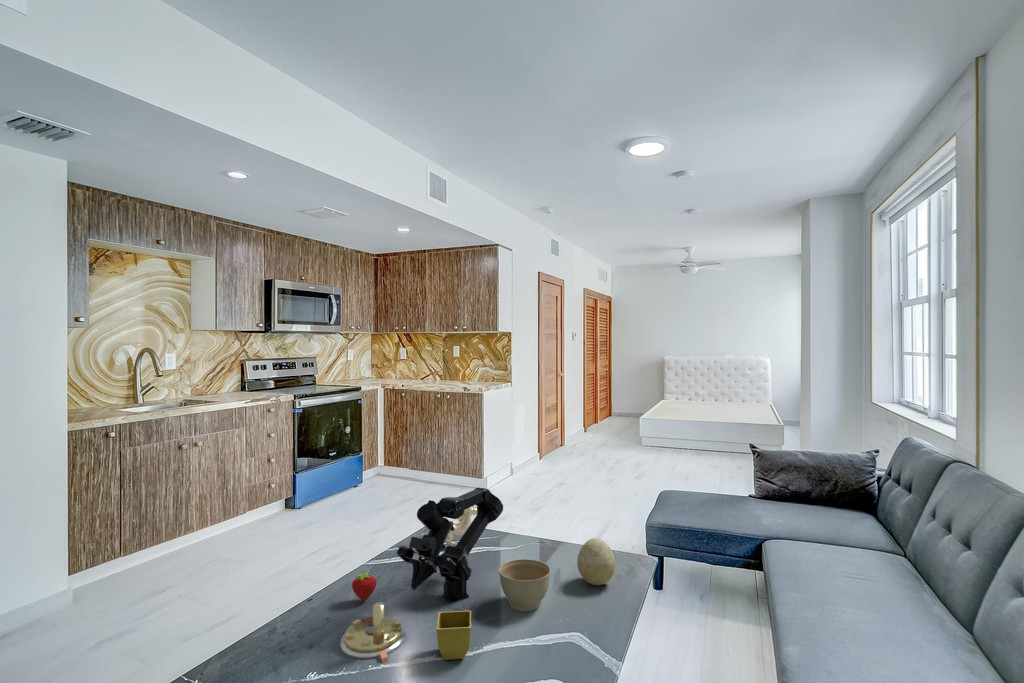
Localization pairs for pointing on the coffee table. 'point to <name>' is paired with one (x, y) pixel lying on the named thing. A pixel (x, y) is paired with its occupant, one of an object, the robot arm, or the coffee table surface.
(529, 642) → the coffee table surface
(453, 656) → the flower pot
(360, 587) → the strawberry
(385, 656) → the tab
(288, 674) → the coffee table surface
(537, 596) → the planter bowl
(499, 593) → the coffee table surface
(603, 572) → the fossilized egg
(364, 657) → the base plate
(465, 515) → the unicorn
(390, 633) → the crank disc
